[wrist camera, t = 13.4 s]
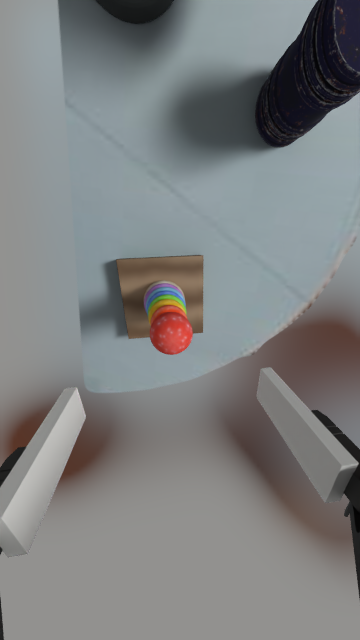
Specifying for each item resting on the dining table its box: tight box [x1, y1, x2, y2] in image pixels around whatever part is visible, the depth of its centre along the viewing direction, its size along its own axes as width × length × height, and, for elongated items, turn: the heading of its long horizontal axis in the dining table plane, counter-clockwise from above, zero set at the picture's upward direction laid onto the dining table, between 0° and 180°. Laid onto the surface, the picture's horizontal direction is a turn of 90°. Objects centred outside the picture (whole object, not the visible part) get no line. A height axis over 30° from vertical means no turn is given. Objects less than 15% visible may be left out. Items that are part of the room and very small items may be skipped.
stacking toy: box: [144, 280, 193, 355], centre depth 29 cm, size 8×8×19 cm
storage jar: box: [255, 0, 360, 147], centre depth 24 cm, size 10×10×15 cm
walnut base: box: [116, 255, 203, 339], centre depth 39 cm, size 16×16×3 cm
